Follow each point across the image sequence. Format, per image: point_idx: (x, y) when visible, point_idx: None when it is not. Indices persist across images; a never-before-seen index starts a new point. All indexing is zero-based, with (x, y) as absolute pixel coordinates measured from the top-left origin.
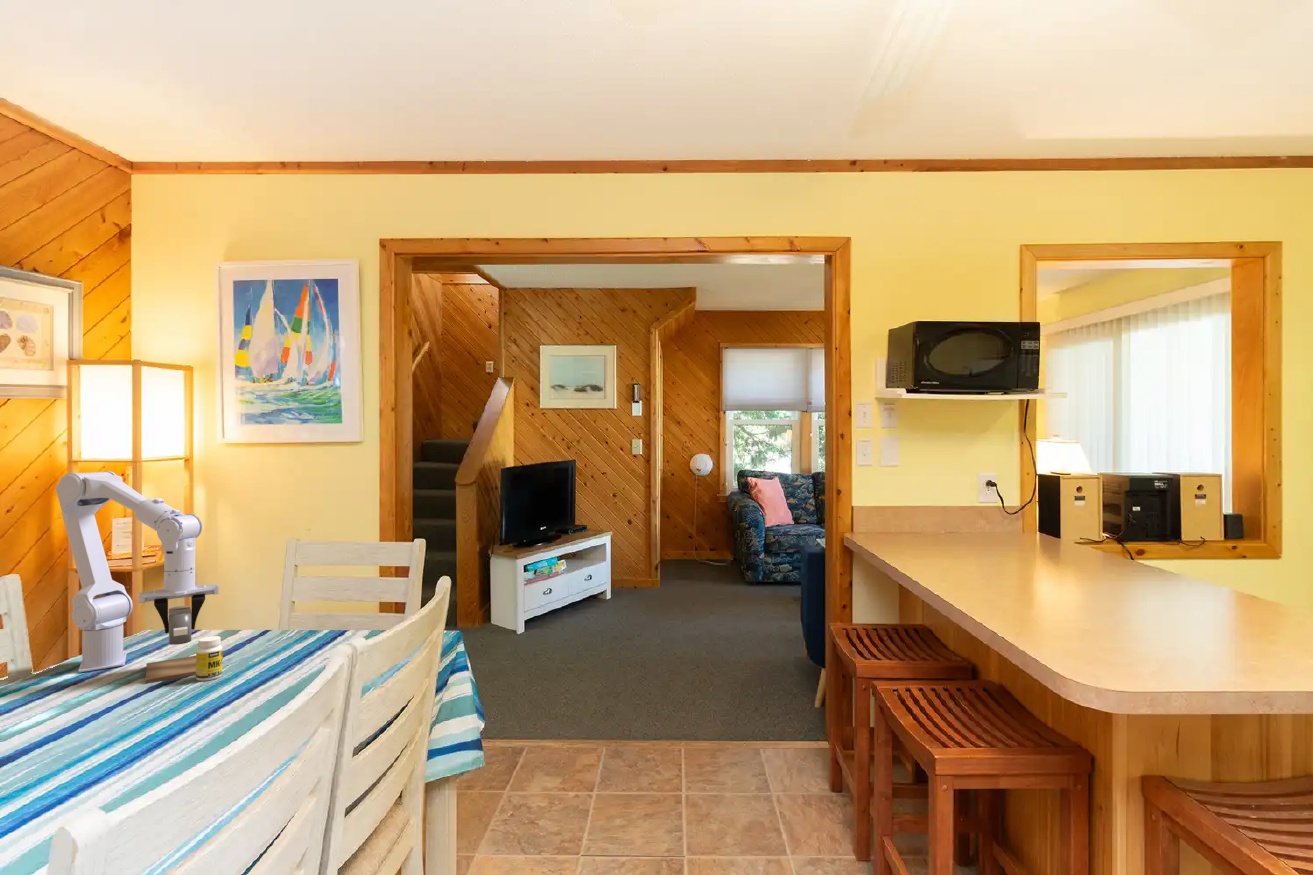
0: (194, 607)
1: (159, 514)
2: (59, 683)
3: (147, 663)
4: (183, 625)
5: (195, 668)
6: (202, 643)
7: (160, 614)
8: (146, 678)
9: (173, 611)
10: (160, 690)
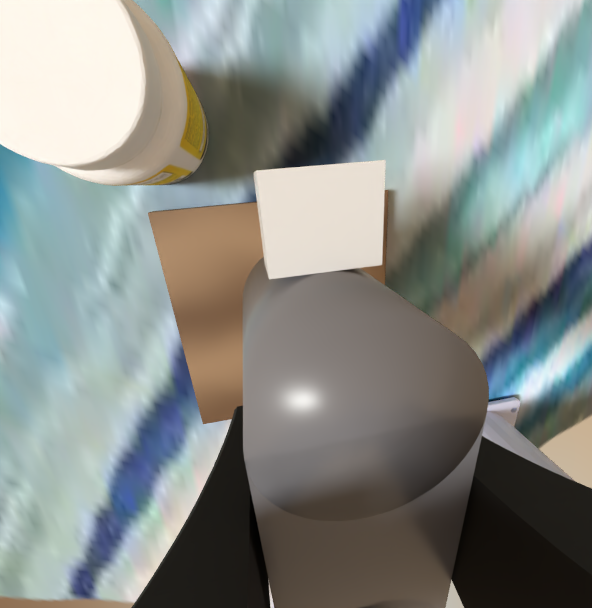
0: (215, 595)
1: None
2: (560, 329)
3: None
4: (304, 284)
5: (226, 253)
6: None
7: (550, 473)
8: (384, 209)
9: (420, 566)
10: (332, 40)
